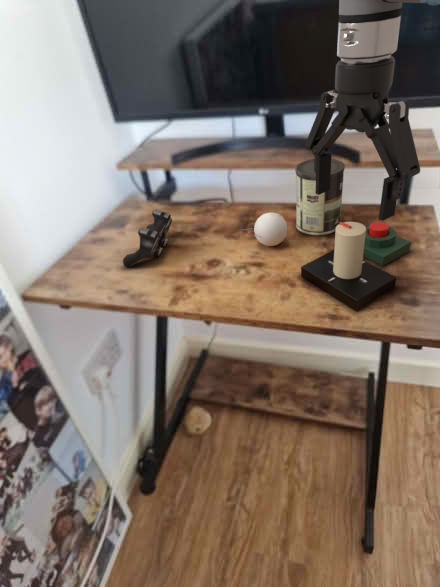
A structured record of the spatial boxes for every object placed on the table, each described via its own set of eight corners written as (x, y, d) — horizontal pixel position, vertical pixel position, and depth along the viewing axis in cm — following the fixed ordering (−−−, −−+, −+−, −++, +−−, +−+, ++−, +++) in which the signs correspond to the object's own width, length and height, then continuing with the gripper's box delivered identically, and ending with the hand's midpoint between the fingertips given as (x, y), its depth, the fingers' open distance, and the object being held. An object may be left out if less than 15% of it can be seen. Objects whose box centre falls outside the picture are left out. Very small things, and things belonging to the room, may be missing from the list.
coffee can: (335, 212, 98) (339, 155, 90) (344, 233, 90) (349, 172, 82) (293, 216, 99) (292, 160, 91) (298, 237, 91) (298, 177, 83)
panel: (395, 288, 73) (397, 276, 72) (356, 311, 69) (357, 299, 68) (337, 257, 83) (338, 246, 81) (300, 277, 79) (300, 265, 78)
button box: (409, 251, 82) (412, 233, 79) (382, 266, 79) (385, 248, 76) (370, 233, 89) (372, 217, 86) (344, 247, 86) (345, 230, 84)
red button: (391, 233, 81) (392, 226, 80) (379, 240, 80) (380, 232, 79) (376, 227, 84) (377, 220, 83) (364, 233, 82) (365, 226, 81)
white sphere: (290, 236, 92) (290, 206, 88) (284, 253, 87) (283, 223, 82) (248, 234, 95) (245, 205, 91) (240, 250, 90) (236, 221, 85)
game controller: (147, 280, 90) (159, 246, 83) (119, 267, 89) (128, 232, 83) (170, 242, 102) (182, 210, 95) (145, 231, 101) (155, 198, 95)
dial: (367, 271, 74) (372, 226, 68) (347, 282, 72) (351, 237, 66) (346, 260, 77) (350, 217, 72) (327, 271, 76) (329, 227, 70)
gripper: (282, 57, 61) (285, 189, 74) (432, 70, 44) (401, 239, 57) (319, 48, 64) (315, 177, 77) (474, 56, 46) (435, 221, 59)
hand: (352, 203), depth 67 cm, fingers open, 13 cm apart
